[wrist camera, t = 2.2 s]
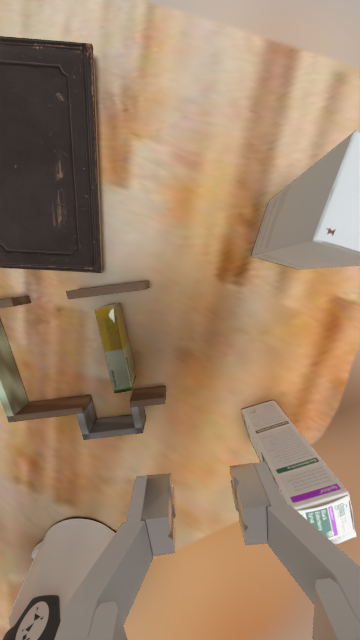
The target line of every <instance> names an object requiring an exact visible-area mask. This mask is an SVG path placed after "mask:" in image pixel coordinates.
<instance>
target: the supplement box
mask: <svg viewBox="0 0 360 640" xmlns="http://www.w3.org/2000/svg"><path fill="white" fill-rule="evenodd" d="M251 256H253V257H257V258H260V259H264V260H267V261H271V262H274V263H278V264H281V265H285V266H288V267H291V268H295V269H313V268H329V267H346V266H360V131H357V130H356V131H354V132H353V133H352V134H351V135H349V136H348V137H347V138H346V139H345V140H343V141H342V142H341V143H340V144H338V145H337V146H336V147H335V148H334V149H332V150H331V151H330V152H329V153H327V154H326V155H325V156H324V157H323V158H321V159H320V160H319V161H318V162H316V163H315V164H314V165H313V166H312V167H310V168H309V169H308V170H307V171H305V172H304V173H303V174H302V175H300V176H299V177H298V178H297V179H296V180H294V181H293V182H292V183H291V184H290V185H288V186H287V187H286V188H285V189H283V190H282V191H281V192H280V193H278V194H277V195H276V196H275V197H274V198H272V199H271V200H270V201H269V202H268V205H267V208H266V211H265V214H264V217H263V220H262V224H261V227H260V230H259V233H258V236H257V239H256V242H255V245H254V249H253V252H252V255H251Z"/></svg>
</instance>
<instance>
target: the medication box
mask: <svg viewBox="0 0 360 640" xmlns="http://www.w3.org/2000/svg"><path fill="white" fill-rule="evenodd" d="M95 313H96V318H97V322H98V326H99V330H100V335H101V339H102V343H103V347H104V352H105V356H106V360H107V364H108V369H109V373H110V377H111V381H112V386H113V390H114V393H121V392H126V391H130V390H132V388H133V384H134V381H135V378H136V376H135V371H134V366H133V361H132V356H131V351H130V346H129V341H128V336H127V331H126V326H125V322H124V317H123V312H122V307H121V304H120V303H117V304H109V305H106V306H103V307H101V308H98V309H96V310H95Z"/></svg>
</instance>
